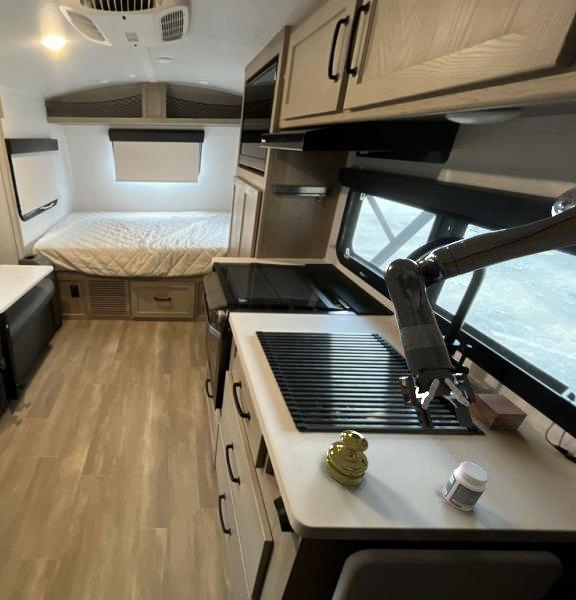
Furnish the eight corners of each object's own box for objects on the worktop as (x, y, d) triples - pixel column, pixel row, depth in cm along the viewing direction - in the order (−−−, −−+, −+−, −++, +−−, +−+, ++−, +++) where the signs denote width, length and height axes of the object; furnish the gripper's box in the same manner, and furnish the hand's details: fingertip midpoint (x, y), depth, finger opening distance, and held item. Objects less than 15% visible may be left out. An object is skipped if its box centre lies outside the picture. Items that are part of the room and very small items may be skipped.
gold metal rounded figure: (317, 455, 73) (328, 422, 68) (349, 453, 74) (362, 420, 69) (335, 487, 66) (348, 453, 62) (370, 485, 67) (385, 450, 63)
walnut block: (517, 429, 82) (527, 414, 79) (489, 428, 82) (498, 413, 79) (493, 408, 88) (502, 394, 86) (467, 407, 88) (475, 393, 86)
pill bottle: (478, 510, 63) (499, 481, 59) (457, 513, 62) (476, 484, 59) (456, 486, 67) (474, 458, 64) (435, 489, 67) (452, 461, 63)
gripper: (407, 345, 67) (431, 431, 62) (469, 343, 69) (497, 426, 64) (381, 352, 74) (401, 429, 69) (438, 349, 76) (462, 425, 71)
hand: (447, 428), depth 66 cm, fingers open, 8 cm apart
